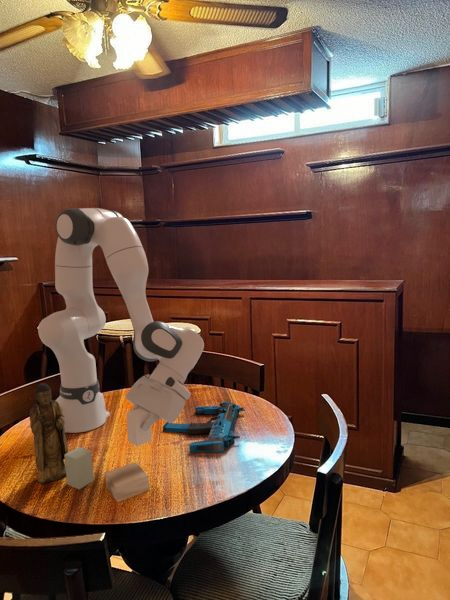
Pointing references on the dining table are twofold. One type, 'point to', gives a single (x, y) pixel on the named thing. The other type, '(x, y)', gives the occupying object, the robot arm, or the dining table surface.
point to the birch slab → (127, 481)
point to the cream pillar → (138, 426)
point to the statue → (48, 435)
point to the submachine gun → (211, 427)
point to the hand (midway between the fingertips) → (136, 425)
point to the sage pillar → (79, 467)
